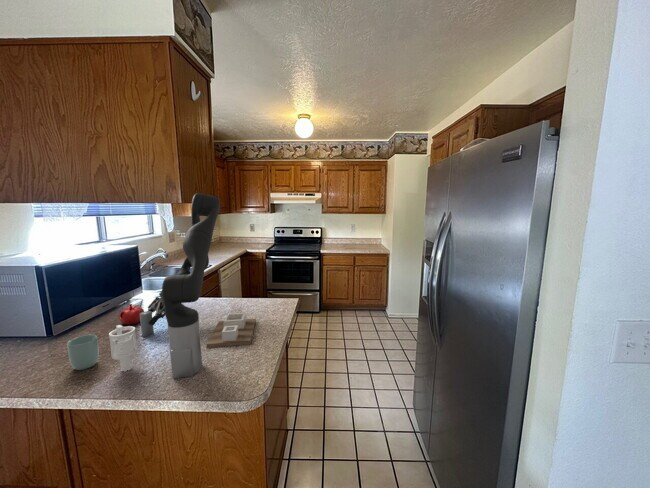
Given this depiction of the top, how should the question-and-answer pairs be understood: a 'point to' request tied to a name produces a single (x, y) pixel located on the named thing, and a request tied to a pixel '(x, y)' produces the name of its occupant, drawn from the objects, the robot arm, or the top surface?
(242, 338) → the board
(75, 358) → the cup
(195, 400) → the top surface
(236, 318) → the socket fittings
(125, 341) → the white tall rounded piece
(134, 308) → the pomegranate
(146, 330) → the capsule
